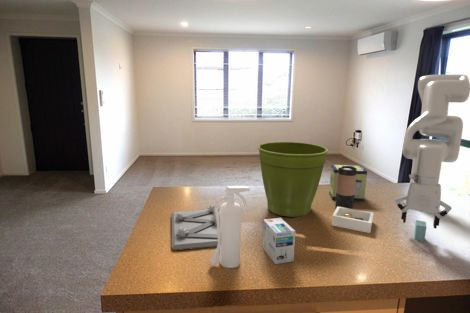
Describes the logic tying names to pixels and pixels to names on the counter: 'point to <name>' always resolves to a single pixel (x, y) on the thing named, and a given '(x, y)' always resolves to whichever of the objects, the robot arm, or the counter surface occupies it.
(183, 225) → the grey zigzag panel
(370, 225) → the tub
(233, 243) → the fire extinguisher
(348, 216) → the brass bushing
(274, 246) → the light bulb box
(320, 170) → the plant pot
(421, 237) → the lid
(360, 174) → the protein box
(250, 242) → the counter surface
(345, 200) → the travel mug
